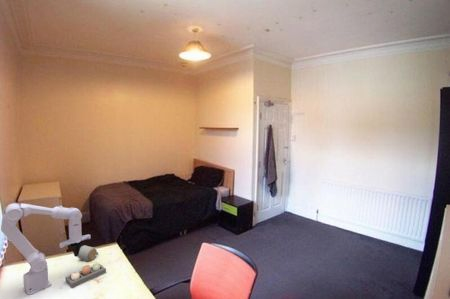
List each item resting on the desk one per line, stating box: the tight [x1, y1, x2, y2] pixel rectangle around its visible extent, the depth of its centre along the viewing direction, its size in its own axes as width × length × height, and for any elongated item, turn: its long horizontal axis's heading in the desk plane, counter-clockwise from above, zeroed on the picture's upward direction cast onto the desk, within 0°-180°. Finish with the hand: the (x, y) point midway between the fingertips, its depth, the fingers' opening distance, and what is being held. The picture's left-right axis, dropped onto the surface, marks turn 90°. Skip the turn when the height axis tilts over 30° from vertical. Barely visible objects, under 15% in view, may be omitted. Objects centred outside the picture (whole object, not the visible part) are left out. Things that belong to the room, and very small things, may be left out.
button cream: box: [70, 271, 80, 281], centre depth 126 cm, size 4×4×4 cm
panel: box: [65, 264, 107, 289], centre depth 130 cm, size 17×8×2 cm, turn 142°
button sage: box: [92, 263, 101, 272], centre depth 134 cm, size 4×4×4 cm
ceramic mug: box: [77, 244, 99, 261], centre depth 149 cm, size 11×8×8 cm
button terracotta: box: [81, 264, 91, 276], centre depth 130 cm, size 4×4×4 cm
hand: (76, 255), depth 132 cm, fingers closed
